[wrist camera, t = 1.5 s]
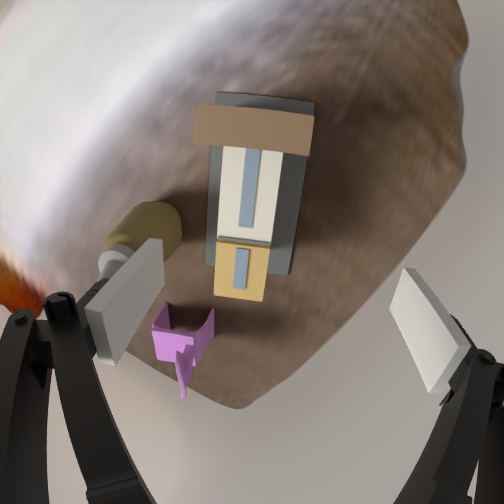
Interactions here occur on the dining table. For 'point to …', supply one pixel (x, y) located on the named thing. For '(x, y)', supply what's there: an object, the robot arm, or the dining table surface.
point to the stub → (240, 270)
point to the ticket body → (250, 163)
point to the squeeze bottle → (140, 235)
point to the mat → (287, 189)
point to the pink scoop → (181, 344)
